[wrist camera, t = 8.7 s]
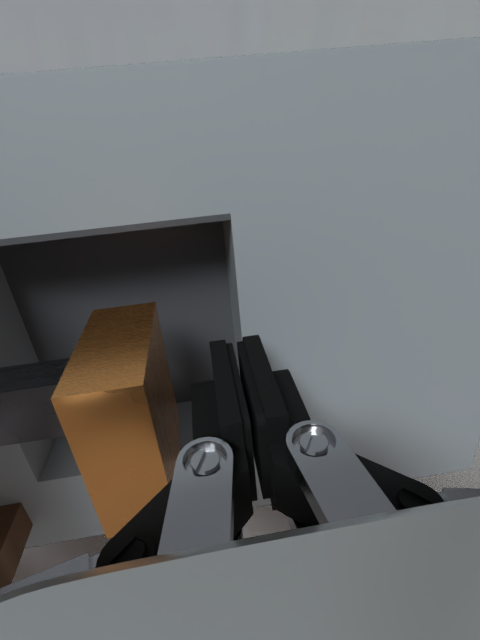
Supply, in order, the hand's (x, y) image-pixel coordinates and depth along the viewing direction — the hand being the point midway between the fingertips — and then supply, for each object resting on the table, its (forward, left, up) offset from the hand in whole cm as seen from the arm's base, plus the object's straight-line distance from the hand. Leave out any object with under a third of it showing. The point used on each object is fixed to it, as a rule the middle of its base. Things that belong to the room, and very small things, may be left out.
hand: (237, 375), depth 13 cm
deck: (+11, 0, -5) cm, 12 cm away
